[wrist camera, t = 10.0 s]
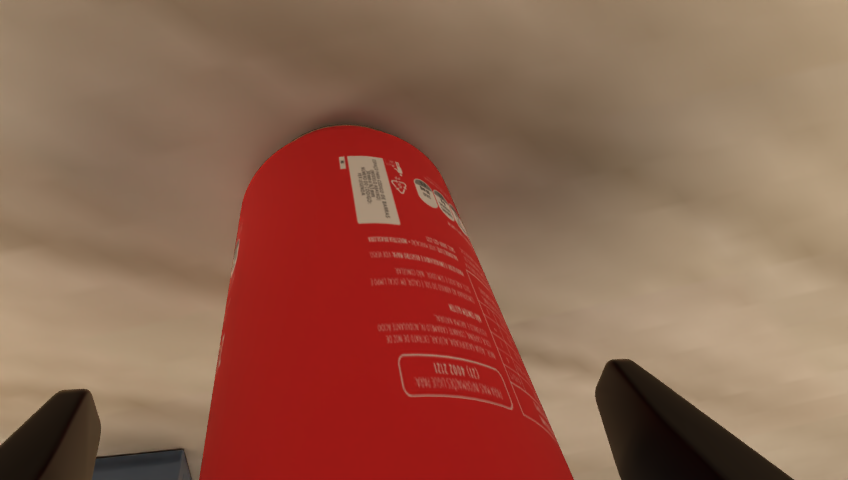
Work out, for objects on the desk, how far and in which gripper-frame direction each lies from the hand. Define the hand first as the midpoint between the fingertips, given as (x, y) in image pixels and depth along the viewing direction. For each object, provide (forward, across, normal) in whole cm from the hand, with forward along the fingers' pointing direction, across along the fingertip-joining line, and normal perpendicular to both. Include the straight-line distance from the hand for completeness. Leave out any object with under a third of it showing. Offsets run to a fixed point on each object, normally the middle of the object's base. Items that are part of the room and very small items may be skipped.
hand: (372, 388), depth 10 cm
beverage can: (+6, 0, 0) cm, 7 cm away
